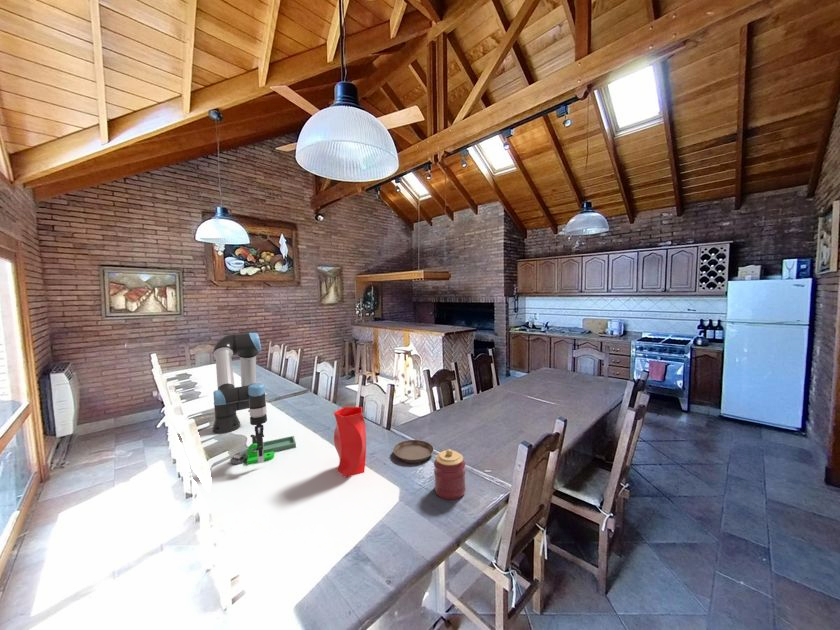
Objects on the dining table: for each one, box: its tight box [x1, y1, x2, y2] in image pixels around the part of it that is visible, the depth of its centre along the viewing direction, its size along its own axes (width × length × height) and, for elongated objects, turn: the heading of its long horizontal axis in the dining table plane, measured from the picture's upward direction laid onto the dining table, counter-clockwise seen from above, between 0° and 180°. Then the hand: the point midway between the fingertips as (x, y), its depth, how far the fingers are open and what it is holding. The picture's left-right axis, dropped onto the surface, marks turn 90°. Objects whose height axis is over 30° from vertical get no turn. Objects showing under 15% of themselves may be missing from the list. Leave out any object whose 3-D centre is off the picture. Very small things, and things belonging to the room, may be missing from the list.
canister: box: [433, 448, 467, 500], centre depth 134 cm, size 13×13×18 cm
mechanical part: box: [246, 443, 275, 466], centre depth 165 cm, size 12×6×8 cm, turn 110°
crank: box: [233, 434, 257, 460], centre depth 168 cm, size 12×5×8 cm, turn 152°
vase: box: [333, 406, 367, 478], centre depth 152 cm, size 15×14×28 cm
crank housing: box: [229, 455, 248, 466], centre depth 164 cm, size 8×8×1 cm
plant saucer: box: [392, 439, 435, 464], centre depth 166 cm, size 21×21×3 cm
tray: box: [263, 435, 297, 453], centre depth 178 cm, size 11×17×2 cm, turn 117°
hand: (260, 456), depth 163 cm, fingers open, 13 cm apart
